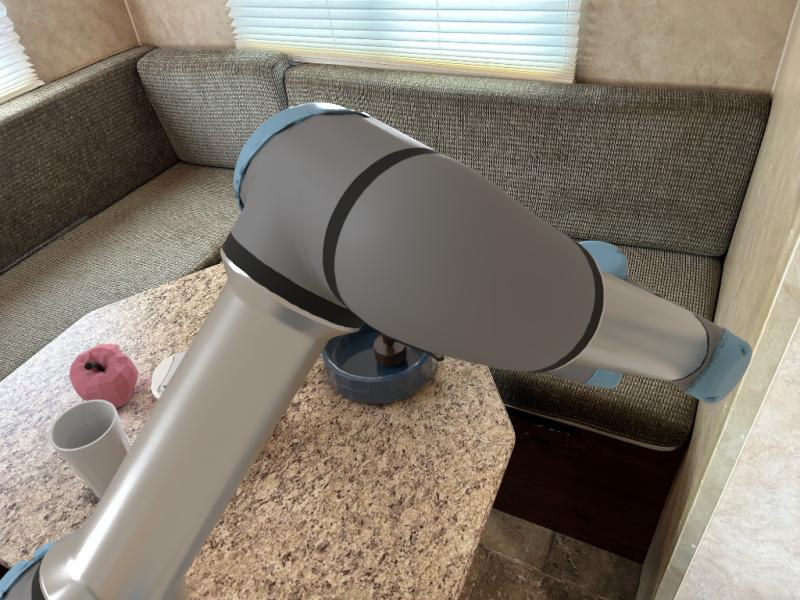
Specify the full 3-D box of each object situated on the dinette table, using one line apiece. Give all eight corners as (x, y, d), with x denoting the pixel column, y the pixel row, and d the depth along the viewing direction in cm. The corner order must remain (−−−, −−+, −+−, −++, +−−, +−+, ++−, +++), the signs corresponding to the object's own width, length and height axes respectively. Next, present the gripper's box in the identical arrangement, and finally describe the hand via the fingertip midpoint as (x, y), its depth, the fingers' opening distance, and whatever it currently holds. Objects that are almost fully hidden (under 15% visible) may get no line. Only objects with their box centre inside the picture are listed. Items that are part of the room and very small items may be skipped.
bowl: (322, 412, 89) (316, 386, 85) (328, 331, 102) (323, 306, 99) (441, 402, 89) (440, 376, 85) (432, 322, 102) (430, 297, 99)
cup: (122, 514, 78) (85, 458, 71) (75, 497, 81) (33, 441, 73) (161, 464, 84) (130, 407, 76) (115, 450, 86) (81, 393, 79)
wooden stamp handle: (375, 367, 92) (362, 283, 82) (374, 345, 96) (363, 261, 86) (407, 365, 92) (399, 280, 82) (406, 342, 96) (398, 258, 86)
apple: (156, 402, 93) (132, 356, 86) (99, 433, 89) (71, 387, 83) (134, 369, 99) (111, 323, 93) (80, 396, 95) (52, 351, 89)
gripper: (488, 394, 79) (330, 351, 87) (519, 321, 89) (375, 289, 98) (489, 352, 74) (322, 312, 83) (521, 281, 85) (370, 251, 93)
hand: (351, 300), depth 90 cm, fingers closed on wooden stamp handle, 2 cm apart
